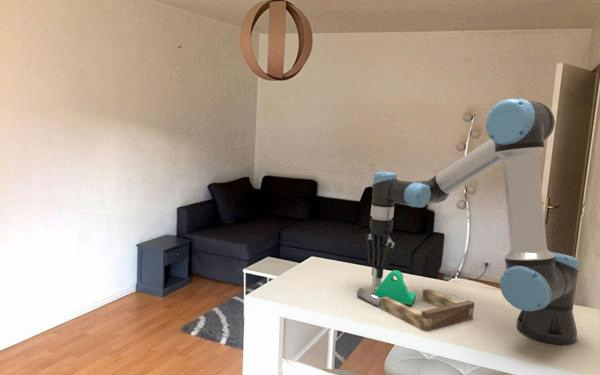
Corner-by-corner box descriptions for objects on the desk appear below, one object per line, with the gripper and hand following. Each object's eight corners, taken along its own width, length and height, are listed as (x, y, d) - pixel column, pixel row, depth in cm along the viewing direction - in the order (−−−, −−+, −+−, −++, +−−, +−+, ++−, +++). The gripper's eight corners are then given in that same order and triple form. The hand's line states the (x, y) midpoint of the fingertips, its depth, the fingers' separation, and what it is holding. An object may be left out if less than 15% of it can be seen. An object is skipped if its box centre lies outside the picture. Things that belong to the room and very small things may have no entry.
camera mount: (416, 301, 155) (419, 270, 154) (410, 308, 148) (413, 276, 147) (380, 293, 160) (383, 263, 159) (373, 300, 154) (375, 269, 152)
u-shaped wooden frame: (472, 318, 142) (474, 302, 142) (425, 331, 131) (427, 313, 131) (426, 298, 157) (427, 284, 156) (380, 308, 146) (382, 292, 146)
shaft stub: (377, 309, 147) (385, 305, 148) (377, 300, 146) (384, 297, 148) (356, 298, 155) (364, 295, 157) (356, 289, 155) (363, 287, 156)
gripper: (404, 221, 156) (398, 290, 159) (377, 214, 167) (371, 279, 170) (387, 222, 152) (381, 294, 155) (360, 215, 163) (355, 282, 166)
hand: (376, 286), depth 163 cm, fingers closed
